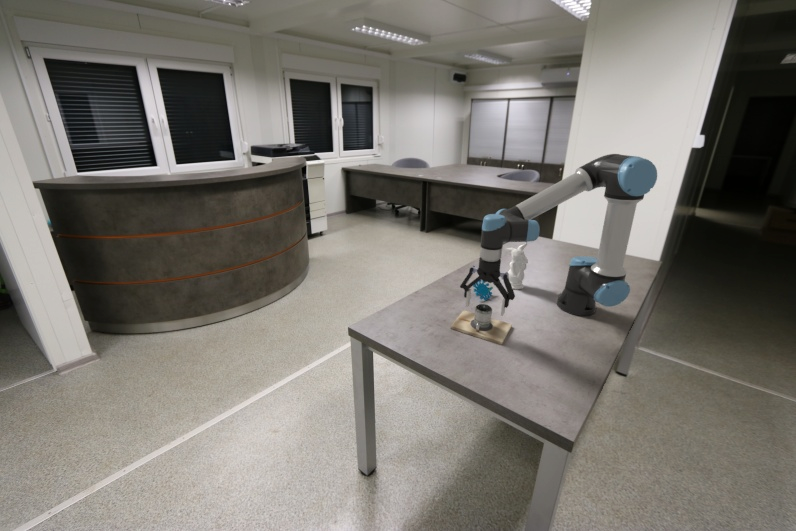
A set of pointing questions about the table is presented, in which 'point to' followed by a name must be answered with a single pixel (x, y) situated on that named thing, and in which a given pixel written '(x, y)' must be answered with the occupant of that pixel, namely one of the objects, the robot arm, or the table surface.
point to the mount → (493, 335)
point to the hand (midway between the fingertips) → (484, 309)
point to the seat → (482, 328)
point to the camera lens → (483, 315)
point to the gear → (482, 290)
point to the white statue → (517, 266)
